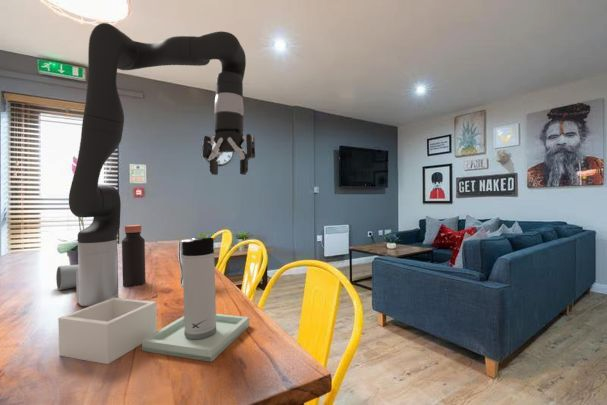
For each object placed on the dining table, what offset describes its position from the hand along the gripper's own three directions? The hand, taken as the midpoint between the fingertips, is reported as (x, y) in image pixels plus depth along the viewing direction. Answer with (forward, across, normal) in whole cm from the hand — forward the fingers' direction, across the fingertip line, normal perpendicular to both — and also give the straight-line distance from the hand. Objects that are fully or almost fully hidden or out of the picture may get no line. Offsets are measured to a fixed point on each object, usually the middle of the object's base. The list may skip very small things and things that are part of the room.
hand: (228, 174), depth 79 cm
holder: (+36, -12, -25) cm, 45 cm away
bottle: (+36, -41, +10) cm, 56 cm away
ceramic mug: (+37, -60, +3) cm, 70 cm away
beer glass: (+36, -22, +14) cm, 44 cm away
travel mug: (+34, +4, -18) cm, 39 cm away
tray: (+35, +4, -18) cm, 40 cm away
